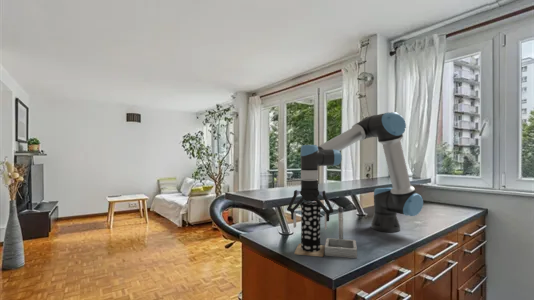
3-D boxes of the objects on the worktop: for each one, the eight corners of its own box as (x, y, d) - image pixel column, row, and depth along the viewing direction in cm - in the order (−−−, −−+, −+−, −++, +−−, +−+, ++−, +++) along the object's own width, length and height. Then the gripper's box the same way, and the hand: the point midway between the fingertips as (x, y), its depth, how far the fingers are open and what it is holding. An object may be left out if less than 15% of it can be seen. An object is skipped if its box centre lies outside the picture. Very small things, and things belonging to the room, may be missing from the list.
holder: (355, 245, 128) (354, 206, 129) (357, 258, 112) (356, 214, 113) (327, 243, 132) (326, 205, 132) (324, 255, 116) (324, 212, 116)
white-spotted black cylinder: (323, 251, 119) (323, 204, 119) (305, 252, 117) (306, 205, 117) (315, 244, 127) (315, 201, 127) (298, 246, 125) (298, 201, 125)
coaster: (325, 247, 126) (325, 245, 126) (323, 256, 115) (323, 254, 115) (299, 245, 129) (298, 243, 129) (294, 254, 118) (294, 252, 118)
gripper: (338, 179, 123) (339, 227, 122) (283, 178, 129) (284, 224, 129) (338, 181, 116) (339, 231, 115) (280, 180, 122) (280, 228, 122)
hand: (310, 227), depth 122 cm, fingers open, 13 cm apart
